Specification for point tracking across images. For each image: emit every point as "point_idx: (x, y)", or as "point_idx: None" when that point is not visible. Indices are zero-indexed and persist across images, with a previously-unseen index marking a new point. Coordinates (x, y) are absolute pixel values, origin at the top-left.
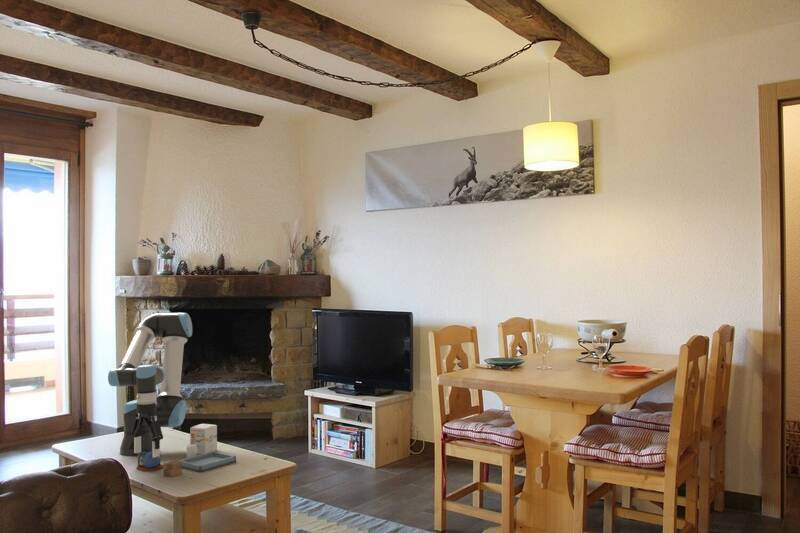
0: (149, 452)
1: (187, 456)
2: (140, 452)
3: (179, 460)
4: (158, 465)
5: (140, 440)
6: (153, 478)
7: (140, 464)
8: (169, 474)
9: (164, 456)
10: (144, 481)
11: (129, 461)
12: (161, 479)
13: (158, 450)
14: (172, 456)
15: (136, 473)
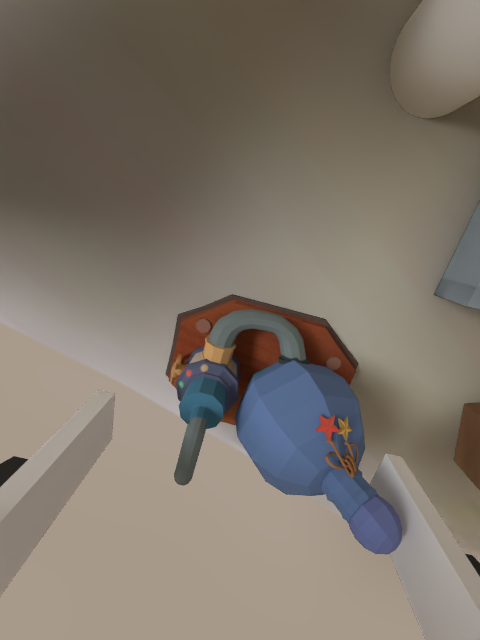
0: (297, 484)
1: (443, 97)
2: (184, 469)
3: (477, 293)
4: (307, 352)
5: (25, 502)
6: None
7: (171, 369)
8: None
9: (102, 76)
10: None
11: (8, 307)
12: (477, 496)
13: (429, 517)
14: (171, 40)
15: None
